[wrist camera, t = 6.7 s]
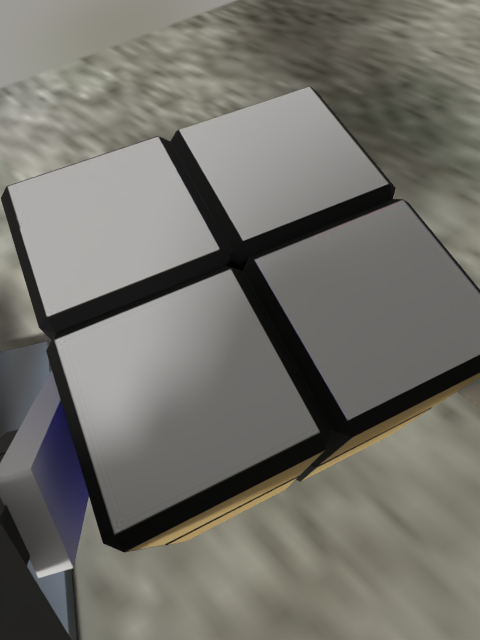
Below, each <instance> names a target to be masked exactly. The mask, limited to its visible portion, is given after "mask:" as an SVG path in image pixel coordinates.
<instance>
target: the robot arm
mask: <svg viewBox="0 0 480 640" xmlns="http://www.w3.org/2000/svg"><path fill="white" fill-rule="evenodd" d="M458 392H459V393H460V394H461V395H463V396H464V397H466V398H467V399H468V400H470V401H471V402H473V403H474V404H475V405H477V406H478V407H480V378H478V379H477V380H475V381H473V382H472V383H470V384H469V385H467V386H466V387H464V388H462V389H461V390H459V391H458ZM88 497H89V494H88V491H87V487H86V484H85V480H84V477H83V474H82V470H81V467H80V464H79V460H78V457H77V453H76V450H75V447H74V443H73V440H72V437H71V433H70V430H69V427H68V423H67V420H66V416H65V413H64V410H63V406H62V403H61V400H60V396H59V393H58V389H57V386H56V383H55V379H54V376H53V373H52V370H51V372H50V374H49V376H48V377H47V379H46V381H45V383H44V385H43V386H42V388H41V390H40V392H39V394H38V395H37V397H36V399H35V401H34V403H33V405H32V406H31V408H30V410H29V412H28V414H27V415H26V417H25V419H24V421H23V423H22V424H21V426H20V428H19V429H18V430H14V431H10V432H6V433H5V434H4V435H3V436H1V437H0V640H72V639H71V638H70V636H69V634H68V633H67V631H66V630H65V628H64V626H63V625H62V623H61V621H60V620H59V618H58V616H57V615H56V613H55V611H54V610H53V608H52V607H51V605H50V603H49V602H48V600H47V598H46V597H45V595H44V593H43V592H42V590H41V589H40V587H39V585H38V584H37V582H36V580H35V579H34V577H33V575H32V574H31V572H30V570H29V569H28V567H27V565H28V562H29V559H30V561H31V564H32V566H33V568H34V570H35V572H36V574H37V576H38V578H41V577H44V576H48V575H51V574H54V573H58V572H61V571H65V570H68V569H72V568H73V566H74V562H75V557H76V553H77V548H78V543H79V539H80V534H81V529H82V525H83V520H84V516H85V511H86V506H87V502H88Z"/></svg>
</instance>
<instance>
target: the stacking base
mask: <svg viewBox="0 0 480 640" xmlns="http://www.w3.org/2000/svg"><path fill="white" fill-rule="evenodd" d="M48 346H49V343H48V342H42V343H38V344H33V345H29V346H24V347H19V348H15V349H10V350H6V351H1V352H0V437H1V436H3V435H4V434H5V433H6V432H10V431H14V430H18V429H19V428H20V426H21V424H22V423H23V421H24V419H25V417H26V415H27V414H28V412H29V410H30V408H31V406H32V405H33V403H34V401H35V399H36V397H37V395H38V394H39V392H40V390H41V388H42V386H43V385H44V383H45V381H46V379H47V377H48V376H49V374H50V372H51V370H52V369H51V366H50V362H49V359H48V356H47V352H46V350H47V348H48ZM27 567H28V569H29V570H30V572H31V574H32V575H33V577H34V579H35V580H36V582H37V584H38V585H39V587H40V589H41V590H42V592H43V593H44V595H45V597H46V598H47V600H48V602H49V603H50V605H51V607H52V608H53V610H54V611H55V613H56V615H57V616H58V618H59V620H60V621H61V623H62V625H63V626H64V628H65V630H66V631H67V633H68V634H69V636H70V638H71V639H72V640H77V633H76V620H75V608H74V595H73V583H72V571H71V569H68V570H65V571H61V572H58V573H54V574H51V575H48V576H44V577H41V578H38V576H37V574H36V572H35V570H34V568H33V566H32V564H31V561H30V559H29V562H28V565H27Z"/></svg>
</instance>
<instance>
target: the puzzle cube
mask: <svg viewBox="0 0 480 640" xmlns="http://www.w3.org/2000/svg"><path fill="white" fill-rule="evenodd" d="M394 192H395V187H394V186H393V184H392V183H391V182H390V181H389V179H388V178H387V177H386V176H385V175H384V173H383V172H382V171H381V170H380V168H379V167H378V166H377V165H376V164H375V162H374V161H373V160H372V159H371V157H370V156H369V155H368V154H367V153H366V151H365V150H364V149H363V148H362V146H361V145H360V144H359V143H358V142H357V140H356V139H355V138H354V137H353V135H352V134H351V133H350V132H349V131H348V129H347V128H346V127H345V126H344V124H343V123H342V122H341V121H340V120H339V118H338V117H337V116H336V115H335V113H334V112H333V111H332V110H331V109H330V107H329V106H328V105H327V104H326V102H325V101H324V100H323V99H322V97H321V96H320V95H319V94H318V93H317V92H316V91H315V90H314V89H313V88H312V87H310V86H309V87H306V88H303V89H300V90H297V91H294V92H291V93H288V94H285V95H282V96H279V97H276V98H273V99H270V100H267V101H264V102H261V103H258V104H255V105H252V106H249V107H246V108H243V109H239V110H236V111H233V112H230V113H227V114H224V115H221V116H218V117H215V118H212V119H209V120H206V121H203V122H200V123H197V124H194V125H191V126H188V127H185V128H182V129H179V130H178V131H176V133H175V135H174V136H173V138H172V140H171V141H168V140H165V139H163V138H161V137H159V136H157V137H154V138H151V139H148V140H145V141H142V142H139V143H136V144H133V145H130V146H127V147H124V148H121V149H118V150H115V151H112V152H108V153H105V154H102V155H99V156H96V157H93V158H90V159H87V160H84V161H81V162H78V163H75V164H72V165H69V166H66V167H63V168H60V169H57V170H54V171H51V172H48V173H45V174H42V175H39V176H36V177H33V178H30V179H27V180H24V181H21V182H18V183H15V184H12V185H9V186H7V187H6V189H5V191H4V193H3V195H2V197H1V201H2V204H3V207H4V211H5V214H6V218H7V221H8V224H9V228H10V231H11V234H12V238H13V241H14V244H15V248H16V251H17V255H18V258H19V261H20V265H21V268H22V271H23V275H24V278H25V282H26V285H27V288H28V292H29V295H30V298H31V302H32V305H33V309H34V312H35V315H36V319H37V322H38V325H39V328H40V329H41V330H42V331H43V332H44V333H45V334H46V335H47V336H48V337H49V338H50V339H51V340H52V341H51V343H50V344H49V346H48V348H47V350H46V352H47V356H48V359H49V362H50V366H51V369H52V373H53V376H54V379H55V383H56V386H57V389H58V393H59V396H60V400H61V403H62V406H63V410H64V413H65V416H66V420H67V423H68V427H69V430H70V433H71V437H72V440H73V443H74V447H75V450H76V453H77V457H78V460H79V464H80V467H81V470H82V474H83V477H84V480H85V484H86V487H87V491H88V494H89V497H90V501H91V504H92V507H93V511H94V514H95V518H96V521H97V524H98V528H99V531H100V534H101V538H102V541H103V543H104V544H106V545H108V546H111V547H113V548H115V549H118V550H120V551H122V552H129V551H135V550H140V549H145V548H151V547H156V546H162V545H171V544H176V543H181V542H186V541H188V540H189V539H191V538H193V537H195V536H197V535H199V534H201V533H203V532H205V531H207V530H209V529H211V528H213V527H214V526H216V525H218V524H220V523H222V522H224V521H226V520H228V519H230V518H232V517H234V516H236V515H237V514H239V513H241V512H243V511H245V510H247V509H249V508H251V507H253V506H255V505H257V504H259V503H261V502H262V501H264V500H266V499H268V498H270V497H272V496H274V495H276V494H278V493H280V492H282V491H284V490H286V489H287V488H288V487H289V486H290V485H291V484H292V483H293V482H294V481H295V480H298V481H303V480H305V479H307V478H309V477H311V476H312V475H314V474H316V473H318V472H320V471H322V470H324V469H326V468H328V467H330V466H332V465H334V464H336V463H337V462H339V461H341V460H343V459H345V458H347V457H349V456H351V455H353V454H355V453H357V452H359V451H361V450H362V449H364V448H366V447H368V446H370V445H372V444H374V443H376V442H378V441H380V440H382V439H384V438H386V437H387V436H389V435H391V434H393V433H394V432H396V431H397V430H399V429H401V428H402V427H404V426H405V425H407V424H408V423H410V422H411V421H413V420H414V419H416V418H417V417H419V416H421V415H422V414H424V413H425V412H427V411H428V410H430V409H431V408H432V407H433V406H435V405H437V404H439V403H440V402H442V401H443V400H445V399H447V398H448V397H450V396H451V395H453V394H454V393H456V392H458V391H459V390H461V389H462V388H464V387H466V386H467V385H469V384H470V383H472V382H473V381H475V380H477V379H478V378H480V290H479V288H478V287H477V286H476V285H475V283H474V282H473V281H472V280H471V279H470V277H469V276H468V275H467V274H466V272H465V271H464V270H463V269H462V268H461V266H460V265H459V264H458V263H457V261H456V260H455V259H454V258H453V257H452V255H451V254H450V253H449V252H448V250H447V249H446V248H445V247H444V246H443V244H442V243H441V242H440V241H439V239H438V238H437V237H436V236H435V235H434V233H433V232H432V231H431V230H430V228H429V227H428V226H427V225H426V224H425V222H424V221H423V220H422V219H421V217H420V216H419V215H418V214H417V213H416V211H415V210H414V209H413V208H412V207H411V205H410V204H409V203H408V202H406V201H405V200H403V199H393V195H394Z"/></svg>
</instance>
